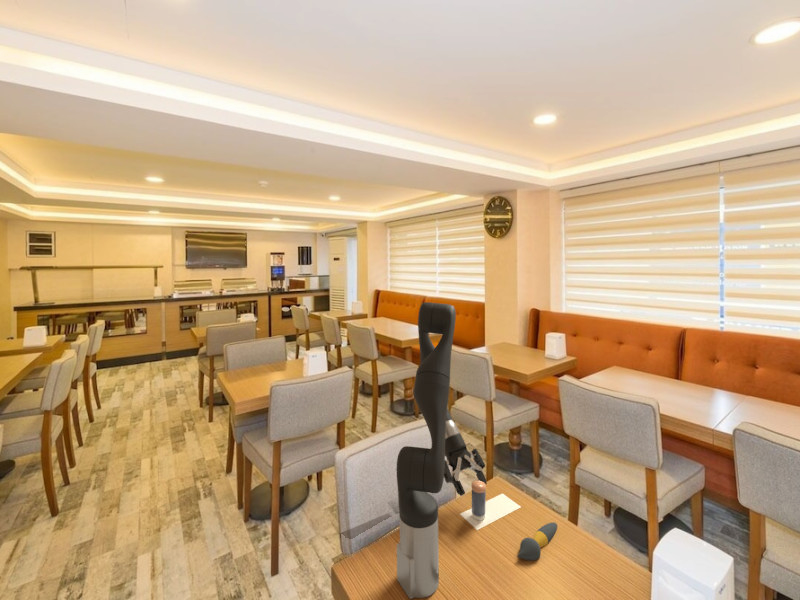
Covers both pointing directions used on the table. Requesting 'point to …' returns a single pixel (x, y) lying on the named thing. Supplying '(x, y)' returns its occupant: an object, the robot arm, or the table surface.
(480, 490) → the peach capped blue cylinder
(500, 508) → the whiteboard
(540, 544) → the paintbrush
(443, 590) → the table surface
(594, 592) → the table surface
